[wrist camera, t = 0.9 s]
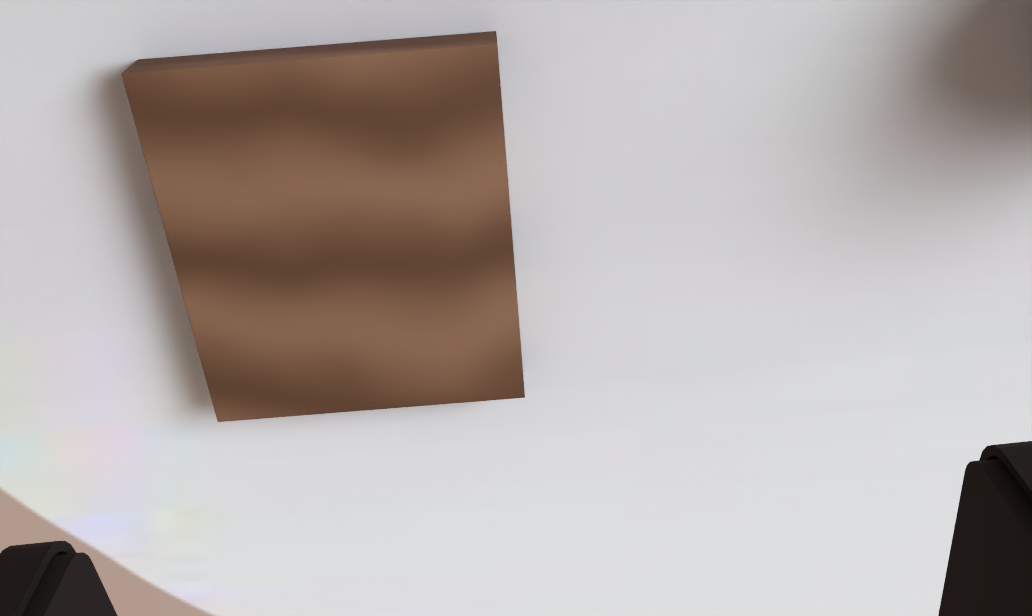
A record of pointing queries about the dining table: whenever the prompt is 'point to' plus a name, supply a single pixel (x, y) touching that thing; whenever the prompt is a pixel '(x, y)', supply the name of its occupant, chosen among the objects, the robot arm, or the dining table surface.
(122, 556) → the dining table surface
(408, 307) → the walnut board
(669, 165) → the dining table surface
